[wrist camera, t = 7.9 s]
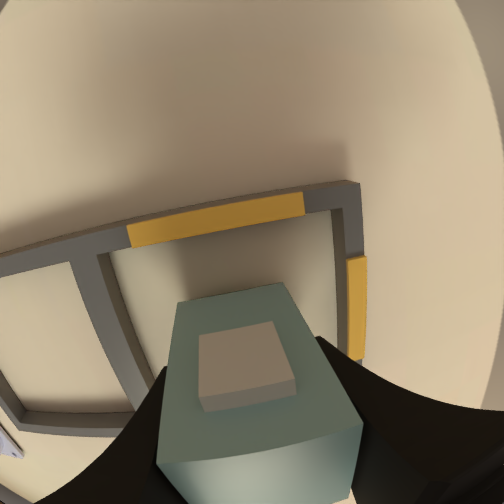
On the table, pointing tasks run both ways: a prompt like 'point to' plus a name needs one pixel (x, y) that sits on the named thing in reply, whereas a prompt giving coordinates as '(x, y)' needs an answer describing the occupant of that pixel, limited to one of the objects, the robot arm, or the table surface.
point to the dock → (171, 228)
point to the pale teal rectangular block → (254, 405)
